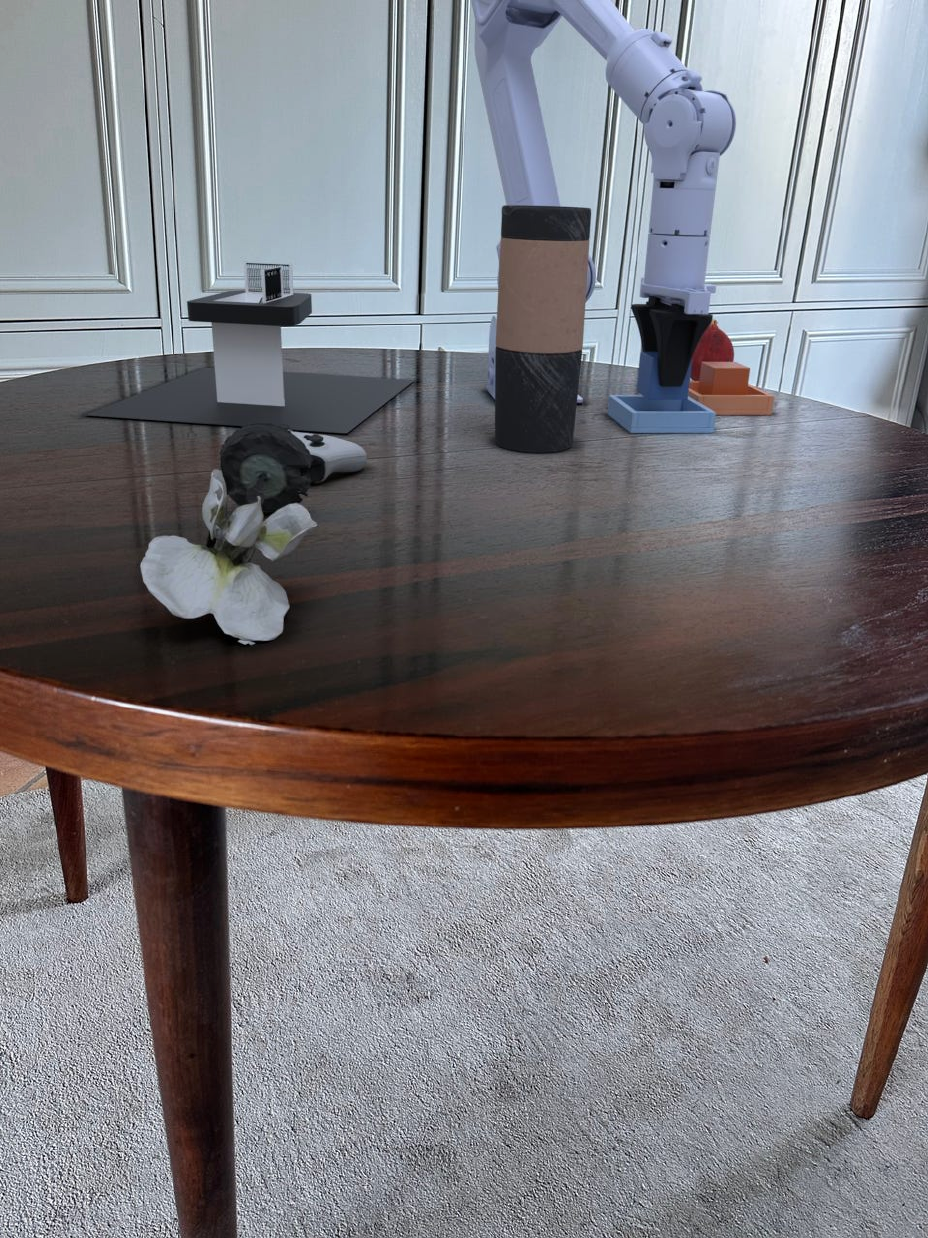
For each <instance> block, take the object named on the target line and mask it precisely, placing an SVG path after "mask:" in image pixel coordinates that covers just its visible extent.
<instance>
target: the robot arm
mask: <svg viewBox="0 0 928 1238" xmlns="http://www.w3.org/2000/svg"><path fill="white" fill-rule="evenodd" d="M470 2H471V7H472V11H473V16H474V57H475V62H476V68H477V71H478V72H477V73H478V77H479V82H480V86H481V91H482V95H483V101H484V104H485V111H486V114H487V119H488V124H489V125H488V126H489V129H490V133H491V138H492V143H493V147H494V152H495V158H496V162H497V166H498V167H497V168H498V171H499V176H500V181H501V186H502V192H503V195H504V200H505V204H506V205H529V206H561V201H560V198H559V197H560V196H559V192H558V187H557V182H556V178H555V173H554V168H553V163H552V157H551V153H550V147H549V142H548V138H547V133H546V129H545V123H544V117H543V113H542V109H541V104H540V99H539V93H538V89H537V84H536V79H535V74H534V69H533V66H532V56H533V54H534V52H535V50H536V49H537V48H539V47H540V46H542V44H543V43H544V42H545V41H546V39H547V38H548V36H549V35H550V33H552V31H553V29H554V28H555V27H556V25H557V24H558V23H559V22H560V20H561V19H562V18H564V19H565V20H566V21H567V22H568V24H569V25H571V26H572V28H574V29H575V30H576V32H578V34H579V35H580V36H581V37H582V38H584V40H586V42H587V43H589V45H590V46H591V47H592V48H593V49H594V50H595V51H596V52H597V53H598V54H599V55H600V56H601V57H602V59H604V60H605V61H606V66H605V80H606V82H607V84H608V85H609V87H610V88H611V89H612V90H613V91H614V93H615V94H616V95H617V96H618V97H619V98H620V99H621V101H622V102H623V103H624V104H625V105H626V106H627V107H628V109H629V110H630V111H631V112H632V113H633V114H634V116H635V117H636V118H637V119H638V121H639V122H640V123H641V124H642V125H643V136H644V141H645V144H646V148H647V149H648V151H649V153H650V156H651V169H650V173H651V174H652V177H653V179H652V190H651V191H652V193H651V202H650V203H651V204H650V212H649V213H650V214H649V222H648V223H649V224H648V234H647V242H646V243H647V244H646V252H645V264H644V265H645V266H644V274H643V276H642V277H640V287H639V298H643V299H647V300H648V301H645V303H633V304H631V307H630V308H631V312H632V314H633V316H634V320H635V322H636V325H637V328H638V333H639V337H640V342H641V343H640V344H641V352H658V376H659V383H660V386H663V387H681V386H682V384H683V382H684V379H685V377H686V374H687V371H688V368H689V365H690V362H691V359H692V357H693V354H694V351H695V349H696V347H697V345H698V343H699V341H700V339H701V337H702V335H703V334H704V332H705V331H706V329H707V328H708V326H709V325H710V324H711V322H712V319H714V317H713V316H714V315H713V314H711V313H709V311H710V303H711V296H712V295H711V294H715V293H716V291H717V285H715V284H712V283H705V282H706V276H707V275H706V274H707V266H708V257H709V251H710V250H709V249H710V248H709V247H710V241H711V233H712V225H713V224H712V223H713V216H714V208H715V199H716V191H717V190H716V189H717V182H718V174H719V166H720V158H721V156H722V155H724V154H725V152H727V150H728V149H729V148H730V146H731V144H732V142H733V140H734V137H735V134H736V129H737V116H736V112H735V109H734V107H733V105H732V103H731V102H730V100H729V98H728V95H727V94H726V93H725V92H723V91H720V90H714V89H707V90H704V89H703V85H702V84H701V81H702V80H703V77H702V75H701V74H700V73H699V72H698V71H697V70H695V69H689V68H687V67H686V65H685V64H684V63H683V62H682V61H681V59H679V57H678V56H677V55H676V54H675V53H674V52H673V50H672V49H671V48H670V47H671V45H672V43H673V40H672V39H671V38H670V36H669V35H668V34H667V32H664V31H660V30H652V29H649V28H641V29H637V30H635V29H634V28H633V27H632V26H631V24H630V23H629V22H628V21H627V19H626V17H624V15H623V14H622V13H621V11H620V10H619V9H618V7H617V6H616V5H615V3H614V2H613V1H612V0H470ZM500 242H501V239H500V240H499V241H498V243H497V244H496V246H495V249H496V254H497V259H498V264H499V263H500ZM596 282H597V272H596V266H595V263H594V260H593V259H592V257H591V255H589V256H588V272H587V287H586V303H587V302H588V301H589V300H590V298H591V297H592V295H593V294H594V290H595V287H596ZM498 284H499V268H498V270H497V285H498ZM496 325H497V314H494V315H493V316H492V317H491V321H490V326H489V335H488V358H487V359H488V360H487V361H488V363H487V385H486V388H485V389H486V391H487V392H488V393H489V394H490V396H491V397H492V398H493V399H494V400H495V349H496ZM583 402H584V398H583V397H582V396H580V395H579V394H578V398H577V404H582V403H583Z"/></svg>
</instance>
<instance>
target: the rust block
mask: <svg viewBox="0 0 928 1238" xmlns="http://www.w3.org/2000/svg"><path fill="white" fill-rule="evenodd" d="M750 373H751V367H748V366H746V365H744V364H741V363H739V362H737V361H733V362H702V363H701V371H700V379H699V387H698V393H699V394H701V395H747V388H748V384H749V381H750Z"/></svg>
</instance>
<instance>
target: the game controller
mask: <svg viewBox="0 0 928 1238" xmlns="http://www.w3.org/2000/svg"><path fill="white" fill-rule="evenodd" d="M278 426H279V427H280V426H281V427H282V428H284V429H285V430H288V431H290V432H291V433H292V434H293V435H295V436H296V437H297V438H299V439H300V440H301V441H302V442H303V443H304V444H305V446H306V448H307V449H308V450H309V451H310V455H311V456H312V458H313V459H314V460H313V461H312V462H311V466H310V468H308V467H304V468H301V469H299V471H300V474H301V473H302V474H306V475H307V474H308V473H309V474H310V475H311V476H310V479H311V484H318V483H322V482H324V481H325V480H327V478H328V477H329V476H330V475H332V473H355V472H358V471H360V470H362V469H364V467H365V466H366V464H367V459H368V457H367V452H366V451H365V449H364V448H363V447H362V446H360V445H359V444H357V443H355V442H351V441H349V440H346V439H342V438H339V437H336V436H331V435H326V434H317V433H309V432H299V431H293V430H291V429H290V426H289V425H288V424H280V425H278Z"/></svg>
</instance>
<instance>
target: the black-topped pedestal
mask: <svg viewBox="0 0 928 1238" xmlns="http://www.w3.org/2000/svg"><path fill="white" fill-rule="evenodd" d="M255 267H257V268H255ZM262 267H264V268H262ZM287 268H288V269H287ZM284 271H285V272H284ZM254 272H255V273H254ZM243 273H244V274H243V275H244V289H243V290H241V289H240V290H227V291H224V292H219V293H215V294H211V295H207V296H202V297H199V298H195V299H191V300H187V301H186V305H187V306H186V308H187V319H188V321H189V322H194V323H195V322H196V323H210V324H211V333H212V349H213V362H214V367H202V368H199V369H198V370H195V371H192V372H190V373H187V374H185V375H183V376H179V377H177V378H175V379H172V380H170V381H167V382H165V383H162V384H160V385H156V386H154V387H152V388H150V389H147V390H145V391H142V392H140V393H136V394H134V395H132V396H129V397H127V398H125V399H122V400H119V401H116V402H114V403H112V404H109V405H106V406H104V407H101V408H99V409H96V410H94V411H91V412H89V413H86V414H85V416H91V417H104V418H105V417H107V418H119V419H120V418H122V419H134V420H135V419H136V420H147V421H148V420H149V421H163V422H178V423H189V424H190V423H191V424H204V425H205V424H207V425H219V426H220V425H223V426H233V427H234V426H237V427H243V426H246V425H250V424H254V423H271V424H274V425H276V426H278V425H280V424H288V425H289V426H290V429H289V430H291V431H294V430H295V431H306V432H321V433H333V434H334V433H336V434H349V432H350V431H352V430H353V429H354V428H356V427H357V426H358V425H360V424H361V423H362V422H363V421H365V420H366V419H368V418H369V417H370V416H371V415H372V414H373V413H375V412H376V411H377V410H379V409H380V408H382V406H384V405H385V404H386V403H388V402H389V401H390V400H391V399H393V398H394V397H395V396H396V395H398V394H399V393H400V392H401V391H403V390H404V389H405V388H407V387H408V386H409V385H411V384H412V383H413V382H414V381H415V380H414V379H402V378H400V379H399V378H385V377H384V378H383V377H367V376H350V375H336V374H335V375H334V374H318V373H317V374H316V373H301V372H284V362H283V341H282V327H294V326H299V325H300V324H302V323H303V321H304V320H306V319H308V317H309V316H310V315H311V314H312V313H313V303H312V302H313V300H312V299H313V298H312V293H306V292H294V279H293V278H294V276H293V263H292V262H289V263H288V264H282V263H281V264H280V263H256V262H248V261H247V260H244V261H243ZM286 274H287V277H286ZM256 276H257V278H256ZM249 277H250V278H249ZM288 279H289V282H288ZM251 281H252V282H251ZM258 281H259V282H258ZM253 285H254V286H253ZM260 285H261V286H260ZM251 289H253V290H251ZM258 289H260V290H258ZM288 290H289V291H288Z"/></svg>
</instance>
